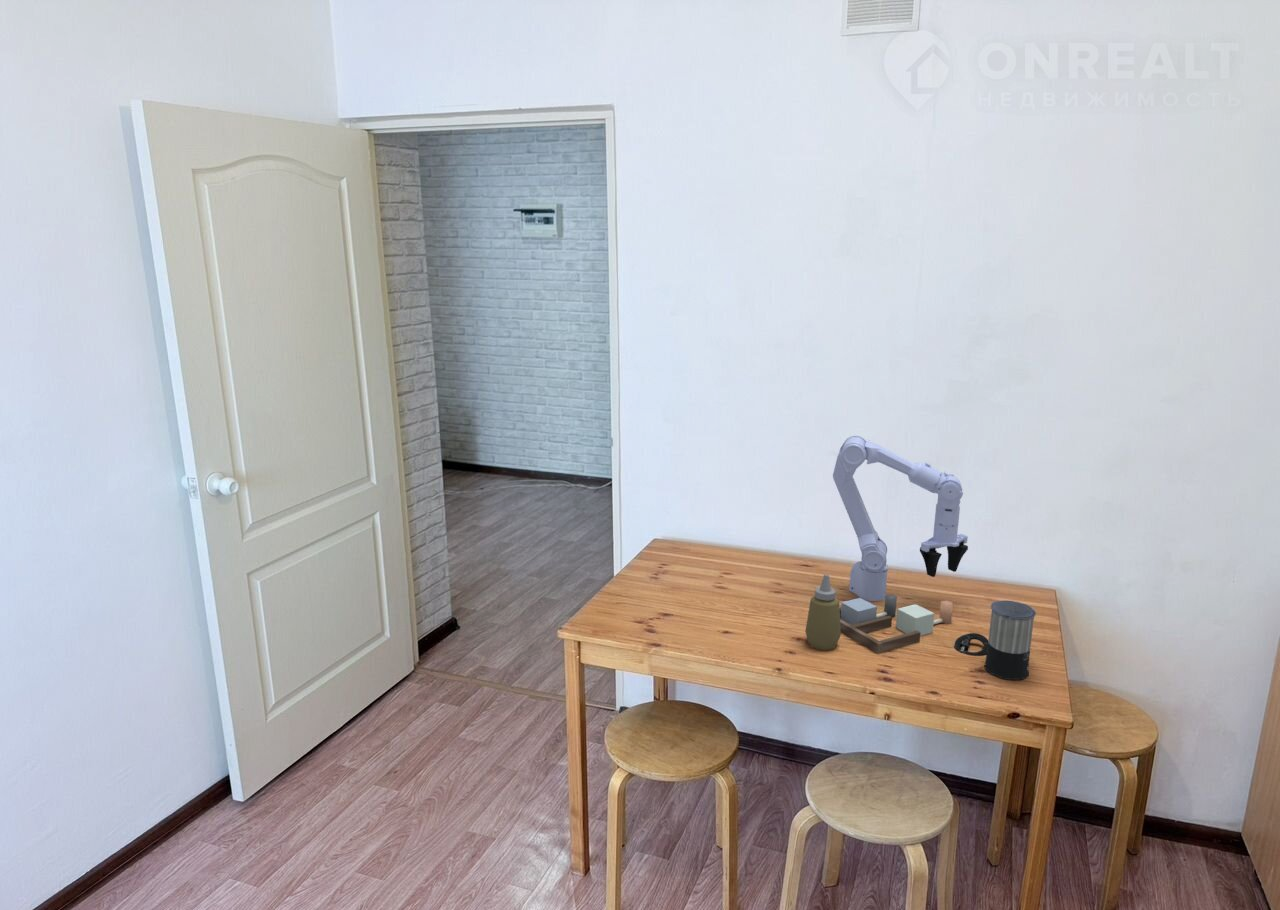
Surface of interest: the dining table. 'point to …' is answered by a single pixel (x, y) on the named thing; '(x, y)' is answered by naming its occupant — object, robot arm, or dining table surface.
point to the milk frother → (1005, 640)
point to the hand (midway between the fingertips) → (941, 572)
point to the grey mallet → (866, 610)
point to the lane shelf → (861, 629)
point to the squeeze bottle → (823, 617)
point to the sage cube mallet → (922, 618)
